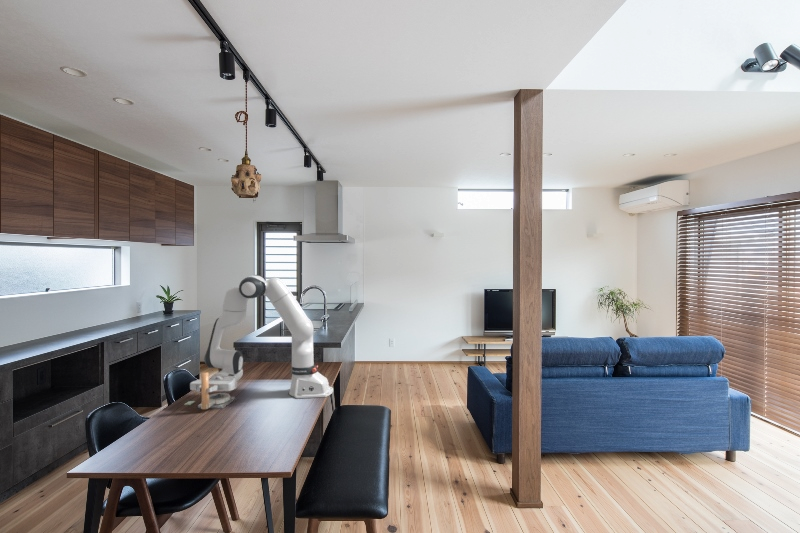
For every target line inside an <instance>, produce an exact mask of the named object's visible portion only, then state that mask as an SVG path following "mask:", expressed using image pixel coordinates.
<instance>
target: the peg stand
mask: <svg viewBox="0 0 800 533" xmlns="http://www.w3.org/2000/svg"><path fill="white" fill-rule="evenodd" d="M209 376H210V374H209V371H207V372H201V373H200V377H201V378H200V379H201V392H200V394H201V403H202V405H201V408H200V409H201V410H208V409H210V408H209V407H211V406H212V405H215V404H220V403H225V402H227V401H228V400H230V397H231V395H230V394H229V393H228V392H227V393H226V392H219V393H212V394H210V392H207V388H209V379H210V377H209ZM214 394H222V398H218V399H212V395H214Z"/></svg>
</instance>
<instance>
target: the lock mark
mask: <svg viewBox="0 0 800 533" xmlns="http://www.w3.org/2000/svg"><path fill="white" fill-rule="evenodd" d="M194 403H196V401H195V400H188V401H187V402H185V403H184V404H183V405H184V406H191V405H192V404H194Z"/></svg>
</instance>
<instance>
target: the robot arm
mask: <svg viewBox="0 0 800 533" xmlns="http://www.w3.org/2000/svg"><path fill="white" fill-rule="evenodd" d="M238 285H239V286H237V287H230V288H229V289H227V291H226V292H225V295H224V299H223V305H222V312H221V315H220V316H219V317H218V318H216V319H215V321H214V324H213V327H212V331H211V334H210V339H209V342H208V346H207V348H206V349H207V350H206V352H205V354H204V358H203V361H204V363H205V365H206V367H208V368H210V369H211V368H212V369H218V368H222V371H220V372H219V371H218V372H216V373H214V374H213V375H212V376H210V378H209V388H207V392H209V393H212V392H232V391H233V390H236V389H237V388H238V381H239V380H240V379H241V378H242V377H243V373H244V370H243V366H244V362H245V361H244V360H245V359H244V356H243V353H242V352H241V351H240V350H234V349H226V348H221V346H220V345H221V341H222V337H223V333H224V332H225V330H228V329H231V328H234V327H238V326H240V325H241V324H242V323H244V321H245V320H246V317H247V306H248V305H247V304H248V300H250V299H256V298H259V297H262V296H265V297H266V298H267V299H268V300H269V302H270V303H271V304H272V306H273V307H274V309H275V310H276V312H277V314H279V316H280V318H281V319H282V321H283V323H284V324H285V326H286V328H287V329H288V331H289V332H290V334H291V366H290V377H291V381H290V389H289V392H288V394H289V396H291V397H294V398H295V399H309V398H311V399H315V398H326V397H329V396H331V394H333V392H334V387H332V386H330V385H329V379H328V378H327V377H325V376H324V375H323V374H321V373H320V372H319V371H318V367H319V365H316V364H315V362H314V360H315V359H314V357H315V356H314V355H315V354H314V350H315V349H314V330H315V329H314V325H313V322H312V320H311V319H310V318H309V317H308V316H307V314H306V313H305V310H304V309H303V308H302V306H301V305H300V303H299V301H298V300H297V298H296V297H295V296H294V295H293V292H291V290H290V288H289V287H288V286H287V285H286V283H284V281H283V280H281V278H279V277H271V278H268V279H267V280H266V278H265V277H263V276H262V275H260V274H254V275H253V274H252V275H249V276H247V277H245V278H243V279H242V280H241V281H240V283H239V284H238ZM189 389H190V391H196V392H198V393H201V378H199V379H196V380H193V381H191V382H190V383H189Z"/></svg>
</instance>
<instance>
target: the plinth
mask: <svg viewBox="0 0 800 533" xmlns="http://www.w3.org/2000/svg"><path fill="white" fill-rule="evenodd" d="M213 394H214V395H212V399H218V398H222V394H216V393H213ZM233 400H234V401H235V400H236V397H235V396H230V400H228V401H227V402H225V403H220V404H215V405H212V406H211V407H209V408H208V409H224V408H225V407H226V405H227V406H228V405H230V404H231V403H232V402H234V401H233ZM201 405H202V402H200V404H198V405H197V408H198V409H201Z"/></svg>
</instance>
